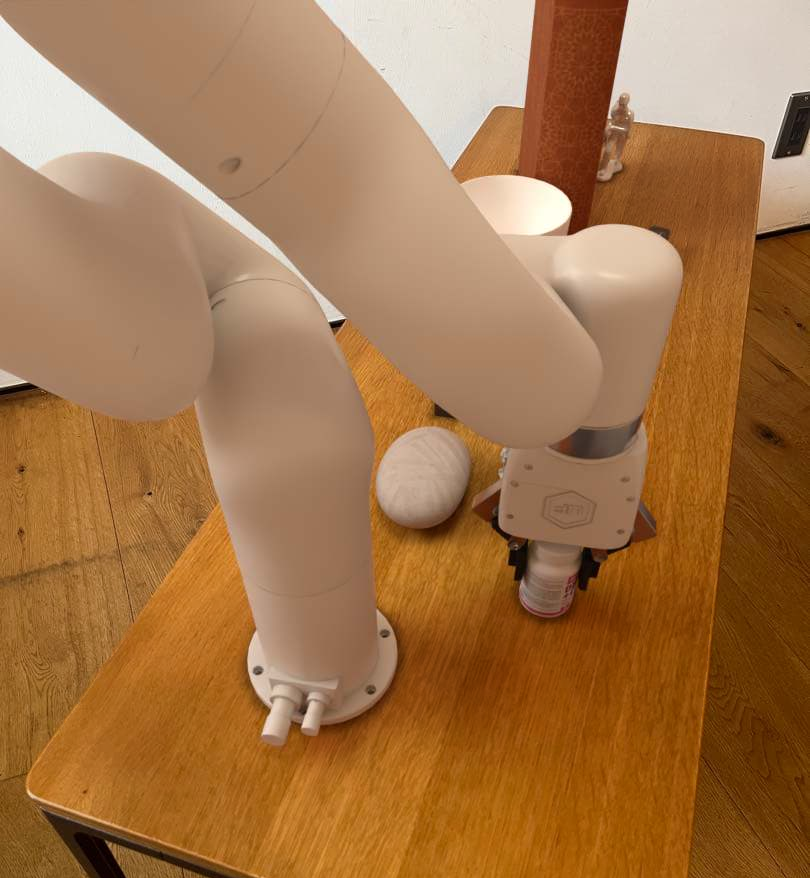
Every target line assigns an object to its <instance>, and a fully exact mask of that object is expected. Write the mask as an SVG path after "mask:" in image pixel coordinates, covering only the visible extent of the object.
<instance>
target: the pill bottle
mask: <svg viewBox="0 0 810 878" xmlns="http://www.w3.org/2000/svg"><path fill="white" fill-rule="evenodd" d="M582 549H583V547H582V546H574V545H567V544H560V543H553V542H546V541H539V540H533V539H531V541H530V542H529V543H528V549H527V556H526V562H525V567H524V573H523V578H522V580H520V585H519V589H518V597H519V599H520V603H521V605H522V606H523V607H524V608H525V609H526V610H527V611H528V612H529V613H530V614H533V615H536V616H538V617H542V618H556V617H558V616H561V615H563V614H564V613H566V611H567V610H568V609H569V608H570V606H571V604H572V602H573V598H574V594H575V591H576V587H577V585H578V576H579V573H580V569H581V566H582V559H583V558H582Z"/></svg>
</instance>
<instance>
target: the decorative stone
mask: <svg viewBox="0 0 810 878" xmlns="http://www.w3.org/2000/svg"><path fill="white" fill-rule="evenodd" d="M470 453H471V452H470V450H469V448H468V446H467V444H466V443H465V442H464V441H463V439H462V438H461V437H460V436H459V435H458V434H456V433H455V432H453V431H452V430H449V429H447V428H444V427H440V426H432V425H427V426H421V427H417V428H413V429H411V430H409V431H407V432H405V433H403V434H401V435H400V436H399V437H397V438H396V439H395V440H394V441H393V442H392V443H391V444H390V446H389V447H388V448H387V450H386V452H385V453H384V455H383V457H382V459H381V460H380V463H379V465H378V469H377V472H376V478H375V494H376V498H377V500H378V504H379V506H380V508H381V510H382V512H383V513H384V514H385V515H386V516H387V517H388V518H389V519H390V520H391V521H392V522H394V523H396V524H398V525H400V526H403V527H405V528H408V529H409V528H410V529H415V530H416V529H421V530H422V529H429V528H432V527H435V526H437V525H439V524H441V523H443V522H445V521H446V520H448V519H449V517H450V516H452V515H453V513H454V512H455V511H456V510H457V508H458V506H459V505H460V504H461V502H462V499H463V497H464V495H465V493H466V490H467V487H468V484H469V482H470V476H471V472H472V458H471V454H470Z"/></svg>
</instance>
